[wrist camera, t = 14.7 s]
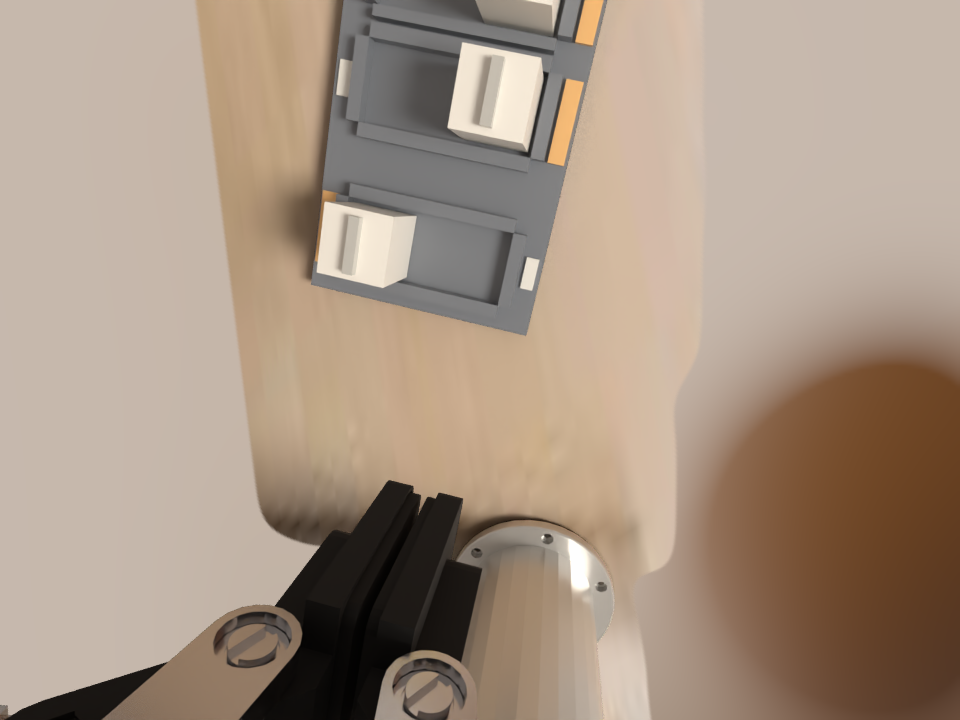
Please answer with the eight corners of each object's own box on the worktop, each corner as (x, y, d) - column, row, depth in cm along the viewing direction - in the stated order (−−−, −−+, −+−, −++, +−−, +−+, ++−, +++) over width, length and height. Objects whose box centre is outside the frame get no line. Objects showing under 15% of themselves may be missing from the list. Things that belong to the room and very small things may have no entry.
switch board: (527, 331, 36) (520, 358, 30) (318, 282, 38) (268, 297, 31) (617, -42, 30) (633, -110, 24) (362, -87, 31) (310, -165, 25)
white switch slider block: (406, 277, 35) (379, 289, 30) (348, 263, 36) (311, 273, 30) (416, 215, 34) (390, 217, 29) (357, 202, 34) (320, 201, 29)
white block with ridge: (528, 153, 32) (522, 142, 27) (463, 139, 32) (445, 126, 27) (543, 80, 31) (540, 54, 26) (477, 67, 31) (460, 38, 26)
